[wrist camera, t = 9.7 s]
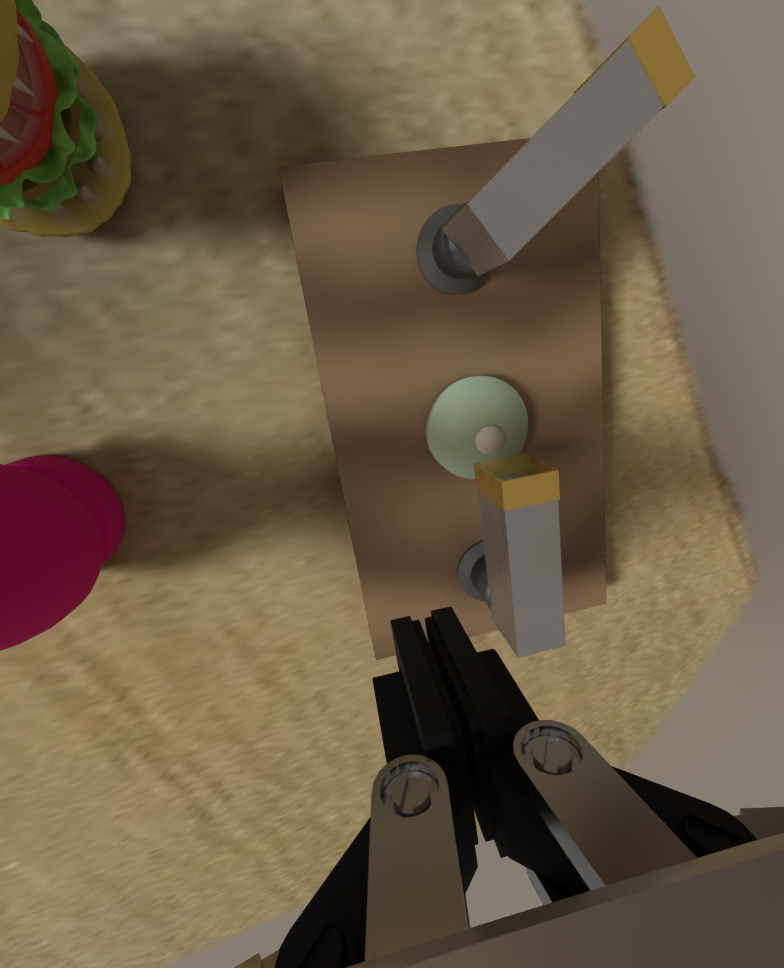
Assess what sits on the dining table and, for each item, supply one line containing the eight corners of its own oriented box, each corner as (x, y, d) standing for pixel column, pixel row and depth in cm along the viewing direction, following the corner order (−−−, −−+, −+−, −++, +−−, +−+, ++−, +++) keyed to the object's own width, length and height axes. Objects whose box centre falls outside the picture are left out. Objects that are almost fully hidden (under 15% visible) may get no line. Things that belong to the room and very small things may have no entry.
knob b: (514, 587, 25) (568, 649, 20) (473, 597, 25) (516, 662, 19) (501, 443, 23) (559, 469, 17) (455, 452, 22) (500, 481, 17)
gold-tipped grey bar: (456, 290, 20) (507, 267, 15) (421, 246, 20) (461, 205, 14) (593, 153, 20) (696, 78, 14) (561, 102, 19) (658, 4, 14)
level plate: (281, 184, 20) (276, 155, 17) (572, 150, 22) (612, 119, 19) (371, 638, 27) (378, 671, 24) (586, 587, 29) (616, 612, 26)
